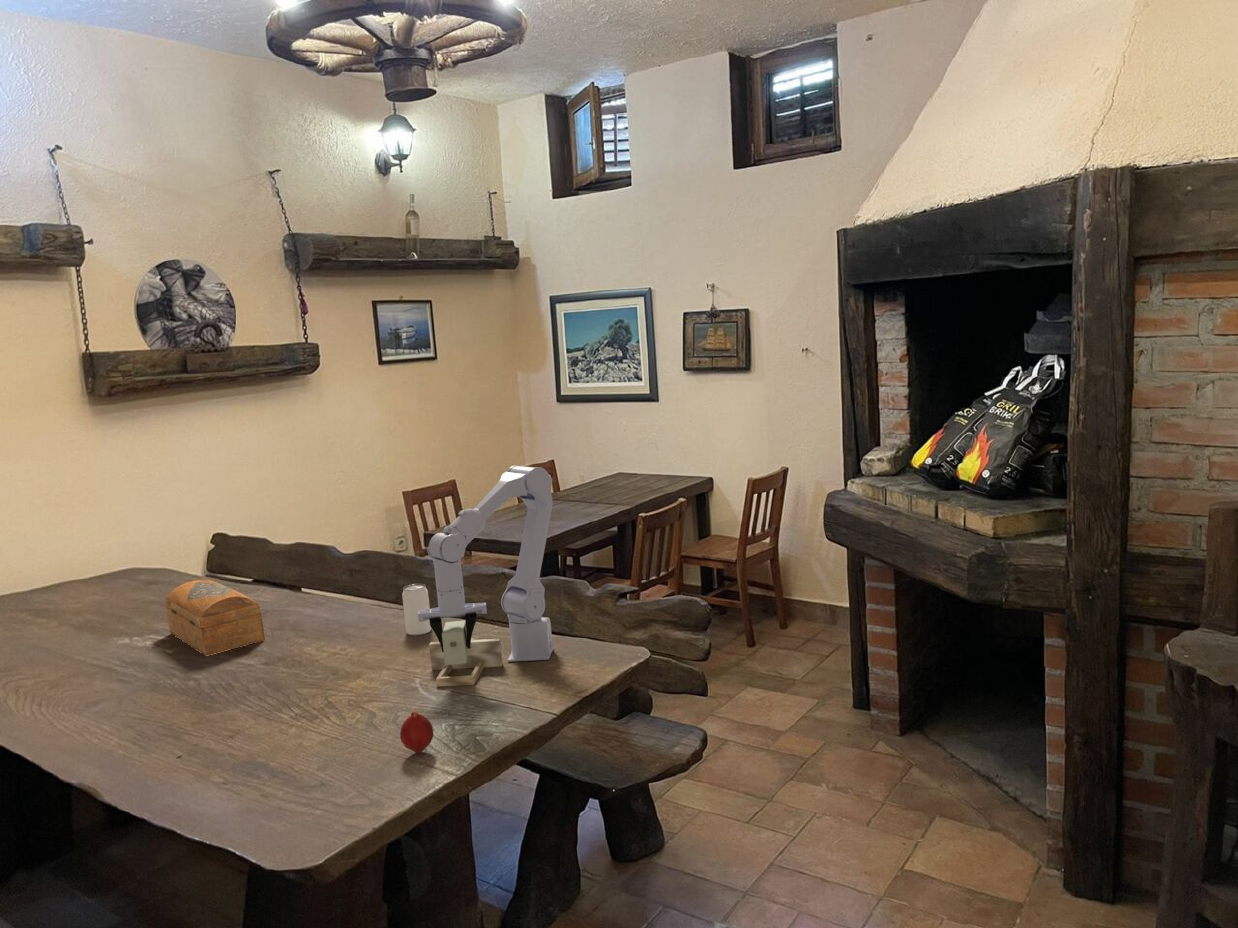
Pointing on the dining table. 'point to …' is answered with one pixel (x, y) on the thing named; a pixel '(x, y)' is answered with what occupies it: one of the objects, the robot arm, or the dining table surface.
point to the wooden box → (213, 617)
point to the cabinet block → (455, 643)
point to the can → (415, 608)
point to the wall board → (478, 658)
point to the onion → (416, 732)
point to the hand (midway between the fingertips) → (456, 648)
